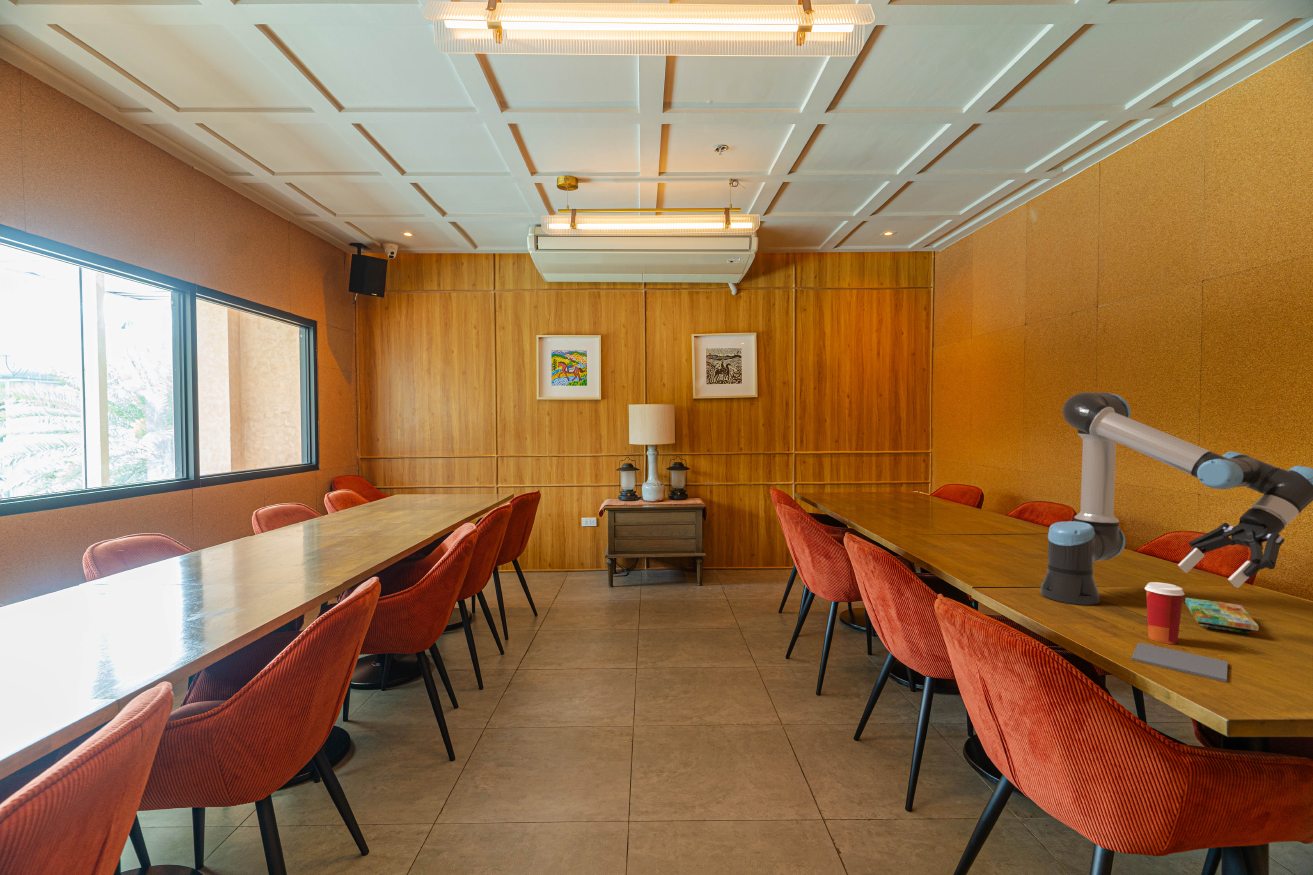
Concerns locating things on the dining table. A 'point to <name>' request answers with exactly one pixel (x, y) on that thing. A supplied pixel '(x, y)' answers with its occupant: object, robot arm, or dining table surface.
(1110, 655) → the dining table surface
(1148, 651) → the mat
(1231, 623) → the puzzle game
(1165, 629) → the paper cup
